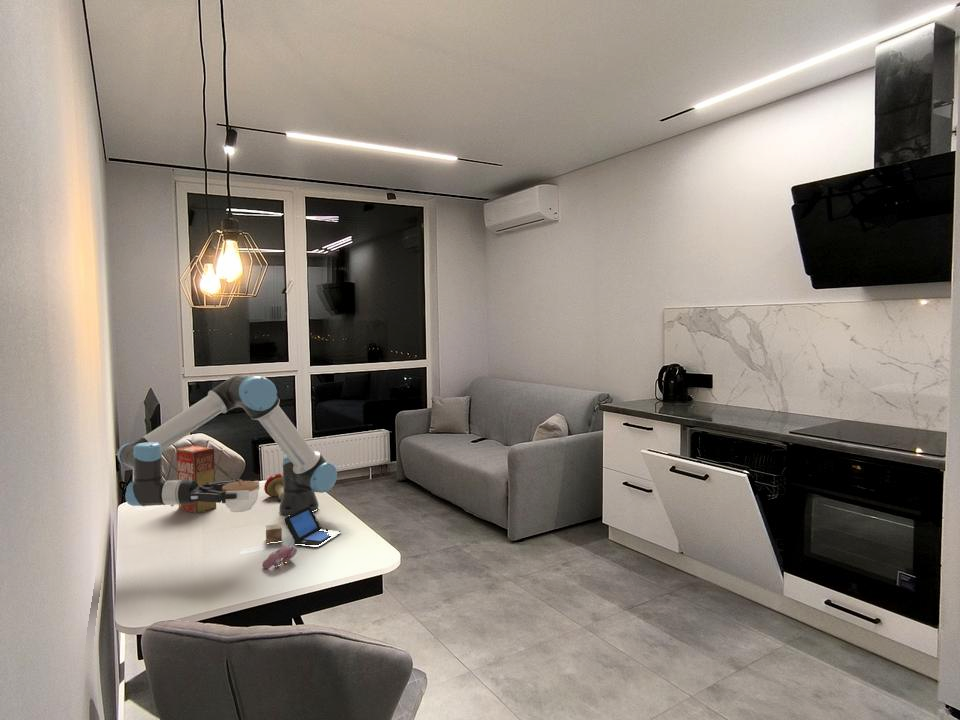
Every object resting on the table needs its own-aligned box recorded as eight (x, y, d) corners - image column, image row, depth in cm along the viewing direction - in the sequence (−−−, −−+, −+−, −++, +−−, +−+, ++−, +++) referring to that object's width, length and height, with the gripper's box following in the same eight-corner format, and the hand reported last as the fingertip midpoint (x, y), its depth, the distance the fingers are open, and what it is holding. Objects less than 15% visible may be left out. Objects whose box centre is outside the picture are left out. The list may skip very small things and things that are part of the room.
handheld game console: (318, 549, 194) (317, 522, 194) (283, 545, 198) (282, 518, 198) (342, 534, 209) (341, 508, 209) (309, 530, 213) (309, 505, 213)
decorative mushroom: (291, 482, 248) (278, 464, 258) (267, 498, 244) (256, 480, 255) (302, 498, 255) (290, 480, 265) (280, 514, 251) (268, 495, 261)
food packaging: (176, 509, 240) (174, 448, 239) (198, 503, 248) (196, 444, 247) (196, 514, 233) (194, 451, 232) (217, 507, 241) (215, 447, 240)
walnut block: (281, 537, 205) (281, 523, 205) (281, 542, 201) (281, 528, 200) (266, 539, 204) (265, 525, 203) (266, 544, 199) (266, 530, 199)
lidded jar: (265, 508, 186) (264, 479, 186) (231, 516, 178) (231, 486, 178) (249, 502, 193) (249, 474, 193) (216, 509, 185) (216, 480, 185)
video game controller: (269, 576, 176) (275, 557, 174) (259, 566, 178) (266, 548, 176) (294, 565, 185) (301, 547, 183) (285, 556, 187) (292, 538, 185)
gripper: (196, 494, 195) (264, 491, 198) (165, 515, 172) (243, 512, 174) (195, 471, 195) (263, 469, 197) (164, 490, 172) (242, 487, 174)
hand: (253, 489), depth 186 cm, fingers closed on lidded jar, 11 cm apart
